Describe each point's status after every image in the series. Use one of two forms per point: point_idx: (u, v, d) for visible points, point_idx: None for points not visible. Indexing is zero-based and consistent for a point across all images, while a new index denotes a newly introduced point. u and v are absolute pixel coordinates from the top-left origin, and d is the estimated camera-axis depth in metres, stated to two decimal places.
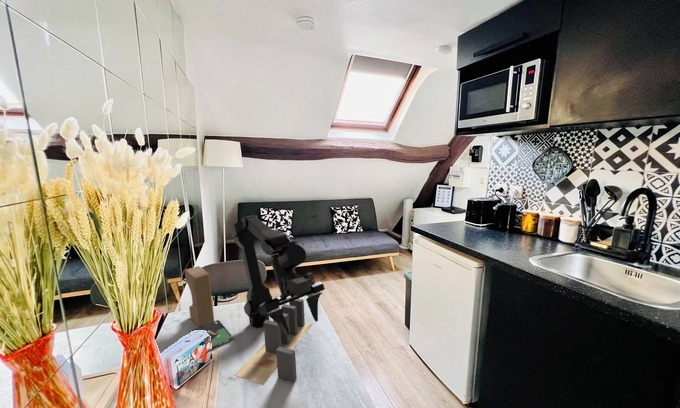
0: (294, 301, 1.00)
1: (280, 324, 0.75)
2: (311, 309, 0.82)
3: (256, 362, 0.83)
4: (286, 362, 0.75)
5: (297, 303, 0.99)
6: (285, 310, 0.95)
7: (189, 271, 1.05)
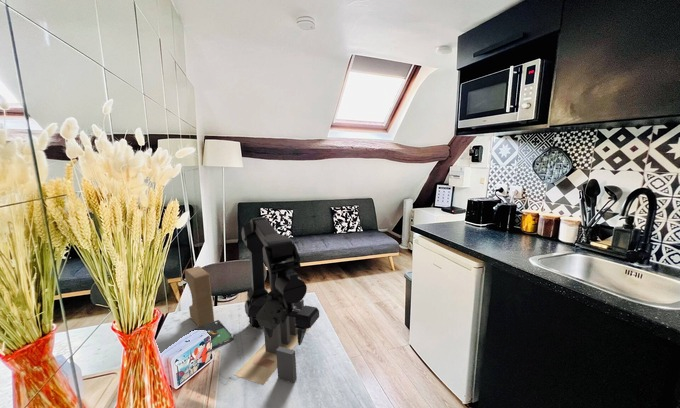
0: None
1: None
2: None
3: (256, 362, 0.83)
4: (286, 362, 0.75)
5: (297, 303, 0.99)
6: None
7: (189, 271, 1.05)
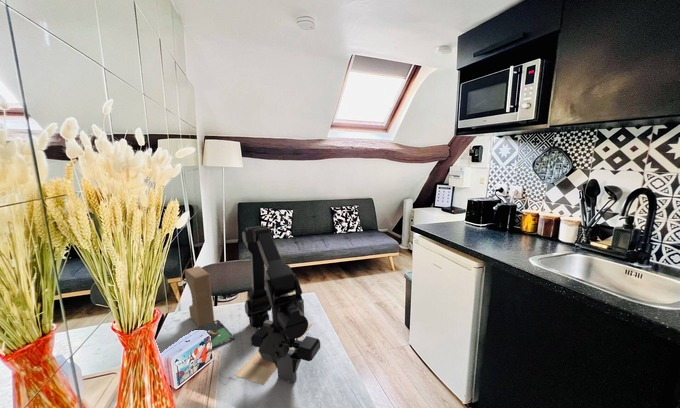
0: None
1: None
2: None
3: (256, 362, 0.83)
4: (286, 362, 0.75)
5: (297, 303, 0.99)
6: None
7: (189, 271, 1.05)
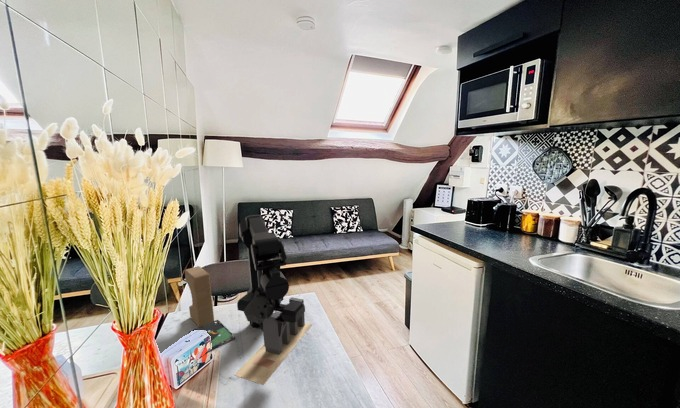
0: None
1: None
2: None
3: (256, 362, 0.83)
4: (272, 326, 0.77)
5: None
6: None
7: (189, 271, 1.05)
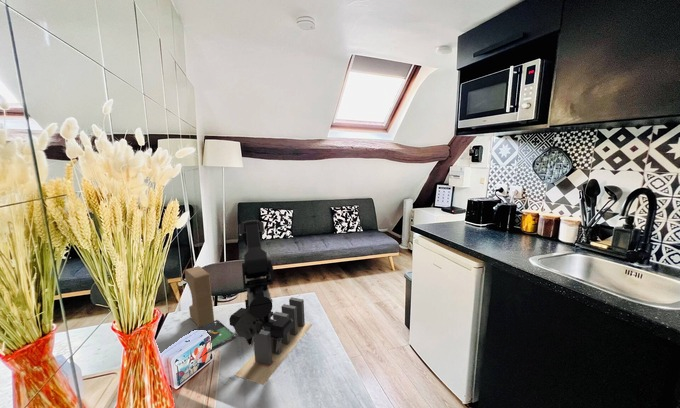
0: (294, 301, 1.00)
1: None
2: None
3: (256, 362, 0.83)
4: (262, 343, 0.81)
5: (297, 303, 0.99)
6: (285, 310, 0.95)
7: (189, 271, 1.05)
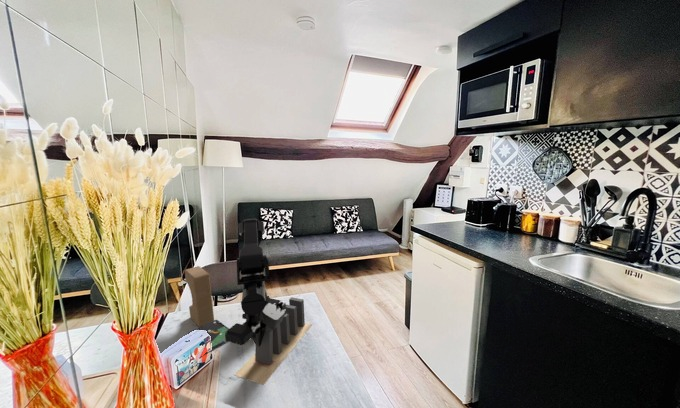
0: (294, 301, 1.00)
1: (254, 338, 0.79)
2: None
3: (256, 362, 0.83)
4: (264, 340, 0.82)
5: (297, 303, 0.99)
6: None
7: (189, 271, 1.05)
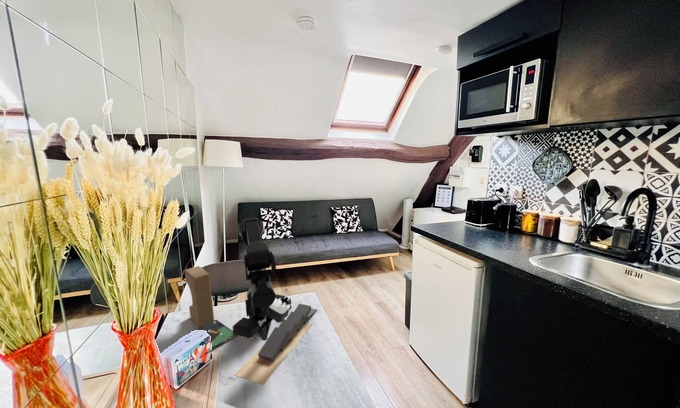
0: None
1: (260, 332, 0.82)
2: None
3: (256, 362, 0.83)
4: (278, 336, 0.89)
5: (312, 309, 1.11)
6: (301, 306, 1.05)
7: (189, 271, 1.05)
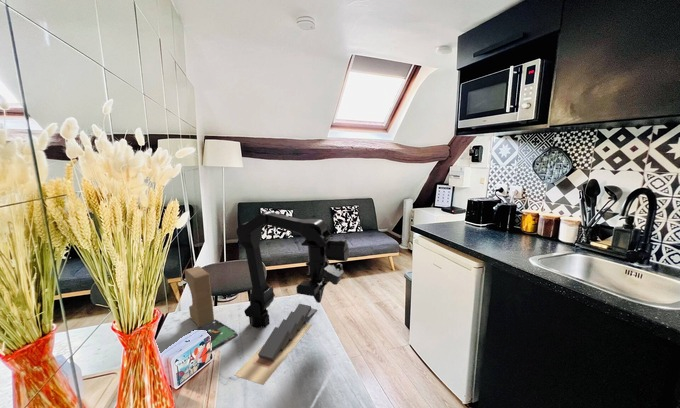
0: None
1: (316, 295, 0.93)
2: None
3: (256, 362, 0.83)
4: (278, 336, 0.89)
5: (312, 309, 1.11)
6: (301, 306, 1.05)
7: (189, 271, 1.05)
